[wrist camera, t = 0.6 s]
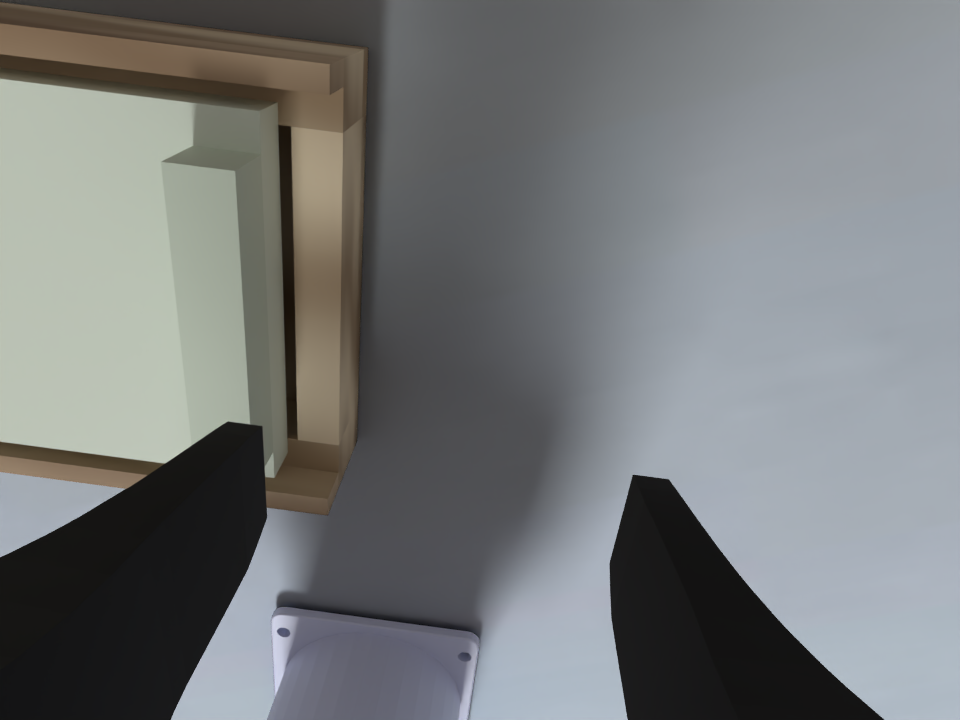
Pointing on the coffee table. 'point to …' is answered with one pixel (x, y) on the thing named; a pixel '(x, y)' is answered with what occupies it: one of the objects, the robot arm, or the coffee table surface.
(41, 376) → the cover plate
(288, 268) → the box
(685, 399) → the coffee table surface
